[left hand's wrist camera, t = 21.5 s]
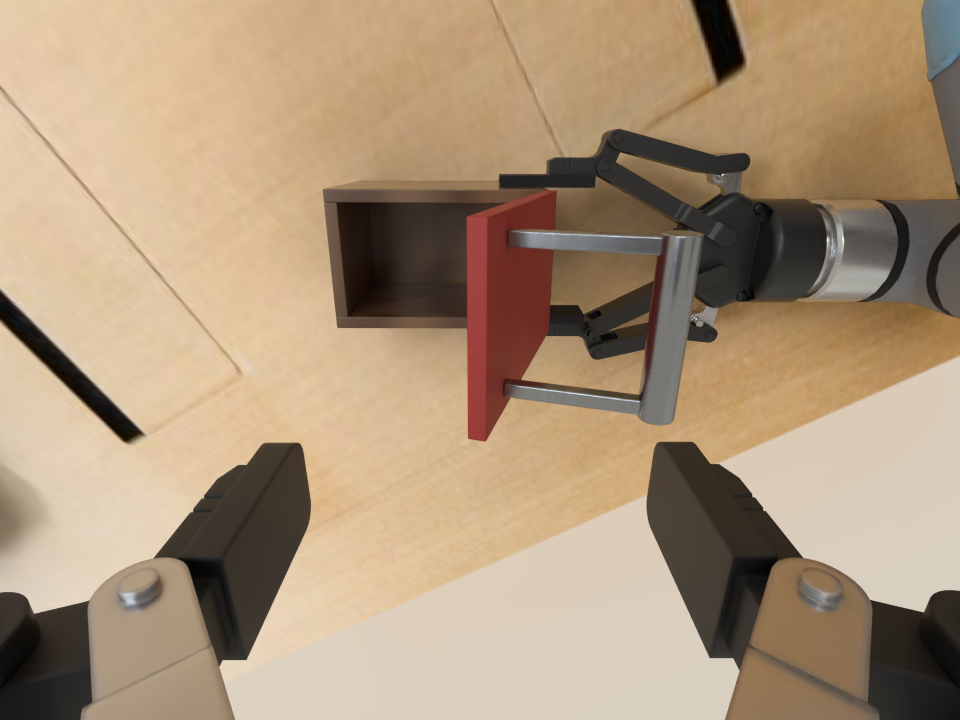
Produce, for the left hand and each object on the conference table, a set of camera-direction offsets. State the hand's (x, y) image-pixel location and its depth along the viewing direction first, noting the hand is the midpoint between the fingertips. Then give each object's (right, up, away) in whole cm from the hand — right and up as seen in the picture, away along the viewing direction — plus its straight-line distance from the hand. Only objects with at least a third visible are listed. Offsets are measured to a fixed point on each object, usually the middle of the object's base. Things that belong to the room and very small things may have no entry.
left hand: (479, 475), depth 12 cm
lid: (+2, +6, +15) cm, 17 cm away
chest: (-3, +13, +33) cm, 35 cm away
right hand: (+1, +11, +27) cm, 29 cm away
